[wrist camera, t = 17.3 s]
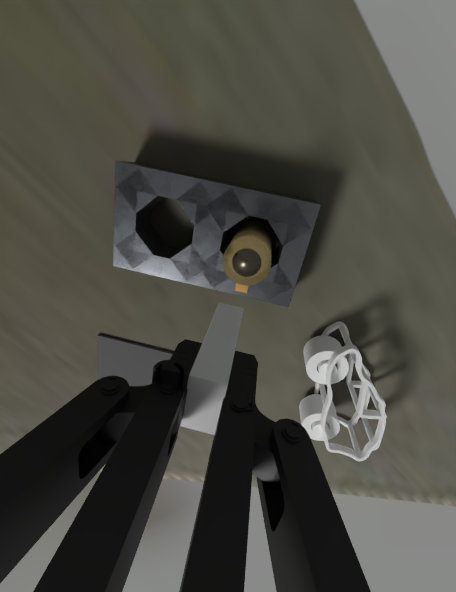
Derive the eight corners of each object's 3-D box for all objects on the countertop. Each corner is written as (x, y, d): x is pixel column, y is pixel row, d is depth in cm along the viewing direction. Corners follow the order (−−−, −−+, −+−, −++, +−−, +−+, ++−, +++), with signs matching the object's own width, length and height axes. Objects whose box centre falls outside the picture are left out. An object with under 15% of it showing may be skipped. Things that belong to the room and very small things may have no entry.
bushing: (232, 253, 40) (218, 279, 30) (239, 217, 38) (227, 233, 28) (266, 260, 40) (264, 290, 30) (275, 225, 38) (276, 244, 28)
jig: (130, 256, 43) (112, 266, 38) (134, 162, 37) (114, 160, 33) (286, 292, 41) (288, 307, 37) (314, 200, 36) (321, 204, 31)
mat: (99, 393, 55) (97, 395, 55) (99, 333, 49) (97, 335, 49) (168, 411, 54) (167, 413, 54) (176, 353, 49) (175, 354, 48)
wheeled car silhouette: (304, 319, 43) (309, 346, 36) (382, 322, 41) (403, 350, 35) (296, 418, 51) (300, 455, 44) (362, 424, 49) (376, 463, 42)
